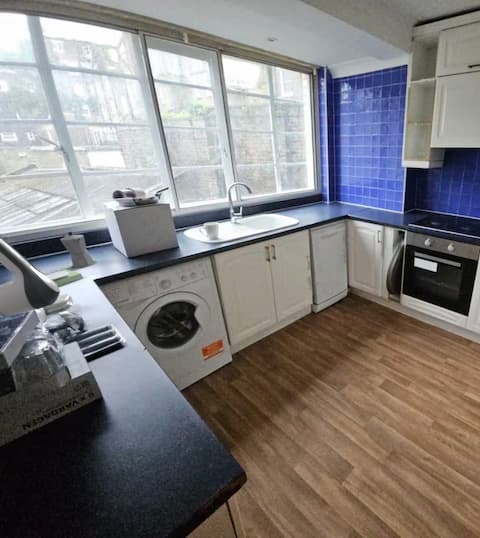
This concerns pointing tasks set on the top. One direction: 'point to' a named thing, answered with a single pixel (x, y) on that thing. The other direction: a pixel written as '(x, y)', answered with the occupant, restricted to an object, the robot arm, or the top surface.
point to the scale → (64, 276)
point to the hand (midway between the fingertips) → (33, 302)
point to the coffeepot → (77, 250)
